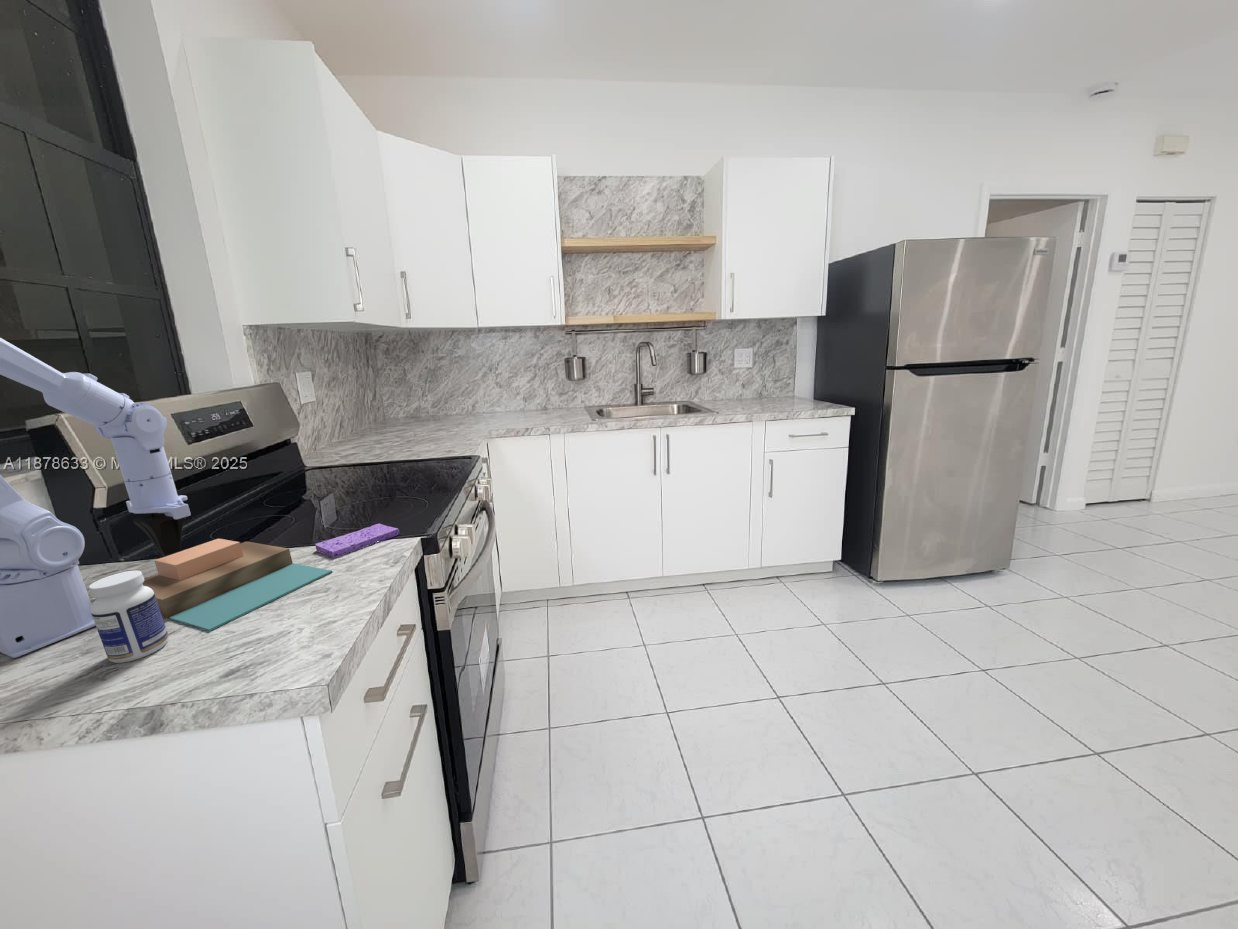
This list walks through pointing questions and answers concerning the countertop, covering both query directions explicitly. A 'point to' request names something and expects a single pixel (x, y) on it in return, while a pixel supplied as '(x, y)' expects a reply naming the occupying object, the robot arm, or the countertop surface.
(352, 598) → the countertop surface
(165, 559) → the tile
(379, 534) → the sponges
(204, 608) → the teal mat
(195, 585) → the board
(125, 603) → the pill bottle
